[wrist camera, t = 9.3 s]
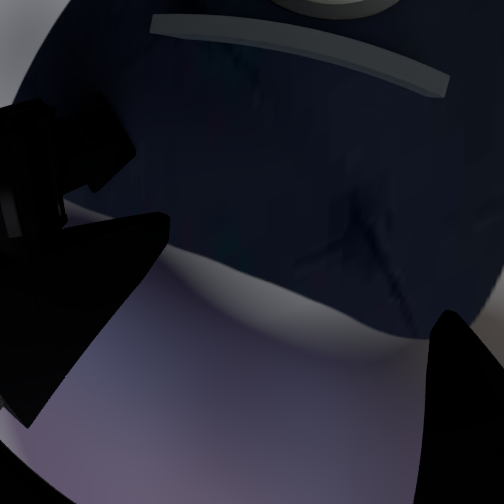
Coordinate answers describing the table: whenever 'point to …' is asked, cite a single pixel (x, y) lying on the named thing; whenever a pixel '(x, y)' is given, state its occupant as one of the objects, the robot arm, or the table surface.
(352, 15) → the grey round disc
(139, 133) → the table surface
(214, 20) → the low wall
